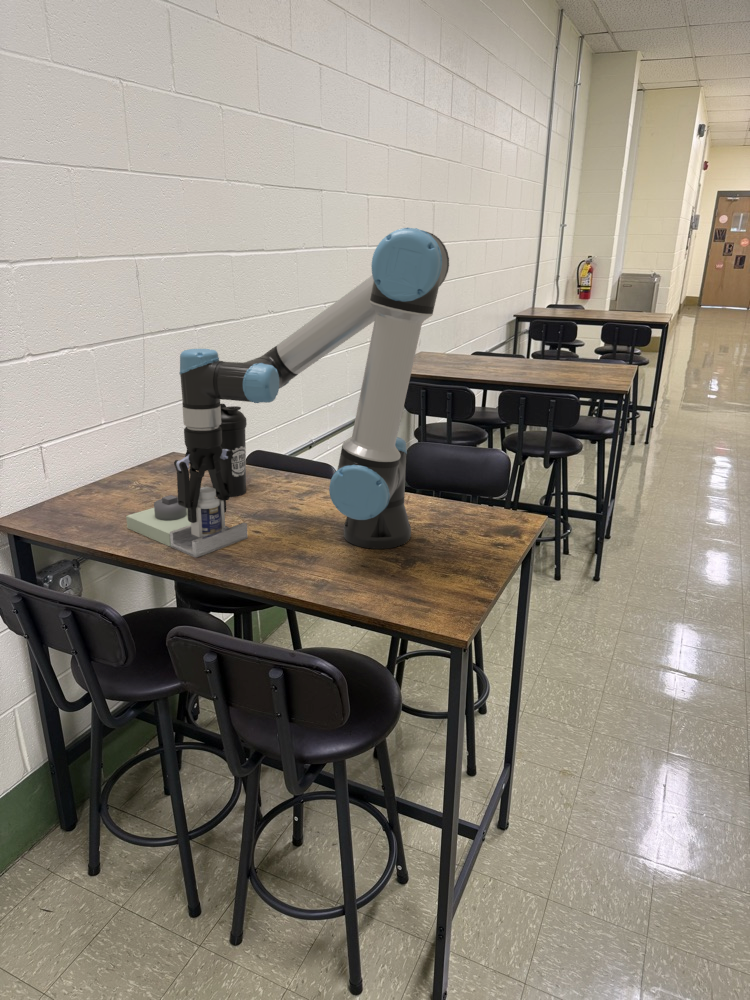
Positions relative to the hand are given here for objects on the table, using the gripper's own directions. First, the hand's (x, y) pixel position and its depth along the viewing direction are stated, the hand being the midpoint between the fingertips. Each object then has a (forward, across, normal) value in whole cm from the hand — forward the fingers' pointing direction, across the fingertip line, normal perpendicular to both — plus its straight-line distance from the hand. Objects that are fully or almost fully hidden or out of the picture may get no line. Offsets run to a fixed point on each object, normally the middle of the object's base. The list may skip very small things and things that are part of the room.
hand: (208, 531), depth 148 cm
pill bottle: (+1, 0, 0) cm, 1 cm away
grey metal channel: (+3, 0, 0) cm, 3 cm away
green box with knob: (+3, 0, -12) cm, 13 cm away
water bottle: (+3, -25, -23) cm, 34 cm away
